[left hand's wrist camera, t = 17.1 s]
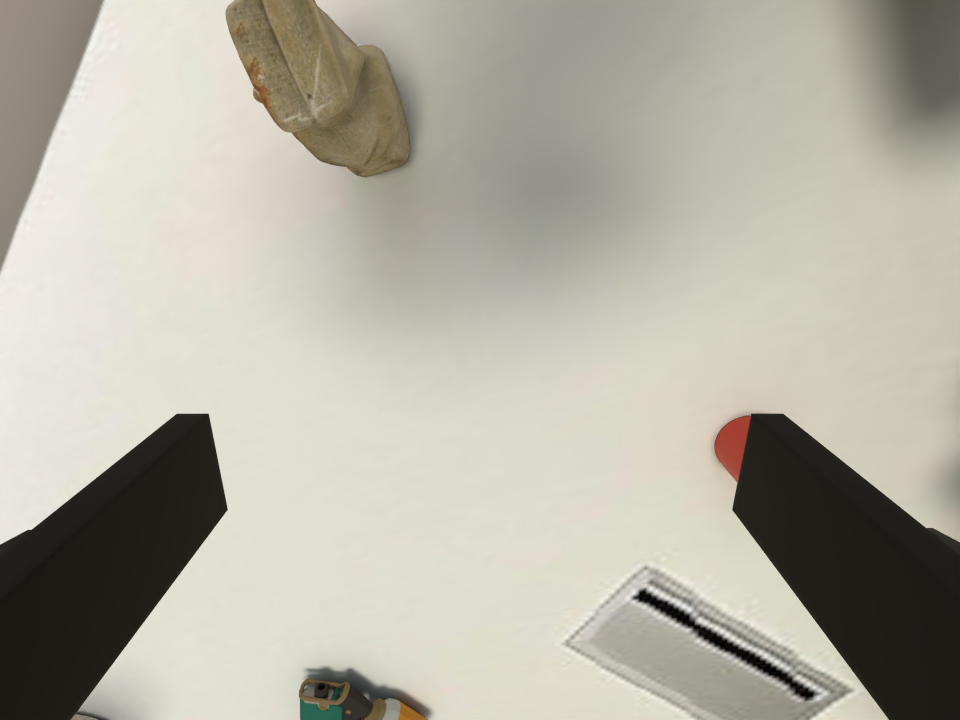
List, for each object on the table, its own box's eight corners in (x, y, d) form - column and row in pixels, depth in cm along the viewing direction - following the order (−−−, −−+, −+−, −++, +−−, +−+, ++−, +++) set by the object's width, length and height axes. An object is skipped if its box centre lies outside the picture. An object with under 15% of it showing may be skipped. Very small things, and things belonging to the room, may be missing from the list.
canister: (750, 478, 43) (780, 512, 39) (702, 454, 43) (727, 486, 38) (788, 431, 42) (824, 461, 38) (739, 405, 41) (770, 433, 37)
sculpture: (397, 41, 32) (332, -59, 18) (431, 160, 35) (397, 153, 21) (309, 69, 33) (182, -8, 19) (349, 184, 35) (262, 193, 21)
